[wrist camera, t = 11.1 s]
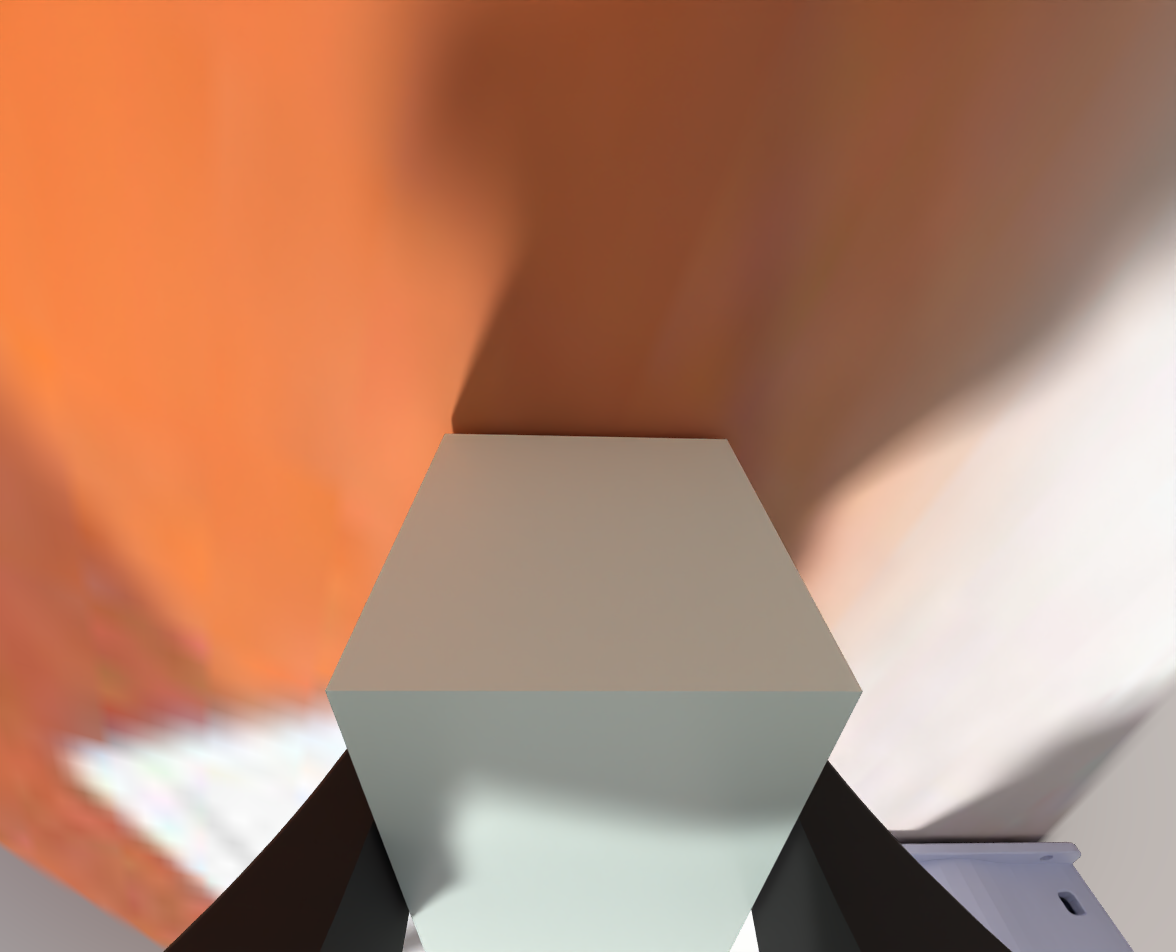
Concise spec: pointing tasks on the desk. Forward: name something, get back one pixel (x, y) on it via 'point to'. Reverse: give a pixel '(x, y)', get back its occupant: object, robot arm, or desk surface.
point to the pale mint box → (587, 696)
